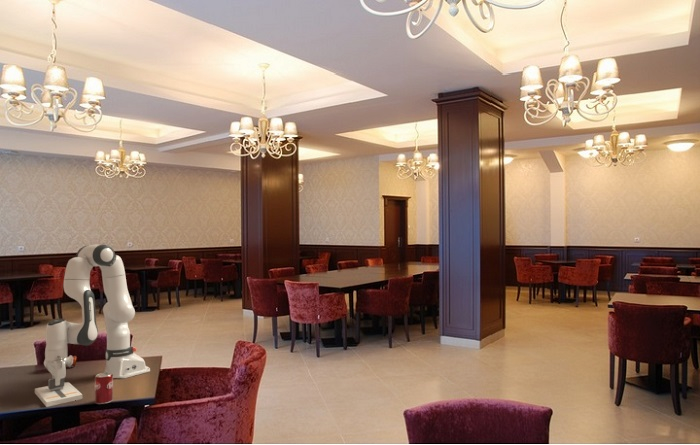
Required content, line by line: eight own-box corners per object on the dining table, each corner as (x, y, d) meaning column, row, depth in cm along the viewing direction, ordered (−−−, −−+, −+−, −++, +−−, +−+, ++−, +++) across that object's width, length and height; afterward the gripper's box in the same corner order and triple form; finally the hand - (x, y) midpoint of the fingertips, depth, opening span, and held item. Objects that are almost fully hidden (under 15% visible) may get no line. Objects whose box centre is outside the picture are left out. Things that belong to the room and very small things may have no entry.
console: (68, 386, 233) (68, 381, 233) (82, 398, 214) (82, 394, 215) (34, 392, 223) (34, 388, 223) (46, 407, 205) (46, 402, 205)
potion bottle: (41, 374, 257) (72, 372, 266) (45, 366, 251) (77, 365, 261) (42, 358, 262) (73, 356, 271) (45, 350, 256) (77, 349, 266)
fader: (62, 386, 225) (62, 375, 225) (64, 388, 222) (64, 377, 222) (47, 389, 221) (47, 378, 221) (49, 391, 218) (49, 380, 218)
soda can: (93, 405, 206) (94, 378, 206) (95, 400, 213) (95, 373, 213) (112, 403, 209) (112, 375, 209) (113, 397, 216) (113, 371, 216)
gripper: (69, 357, 216) (69, 387, 216) (59, 349, 231) (59, 377, 231) (53, 360, 212) (53, 391, 212) (44, 351, 227) (44, 380, 227)
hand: (56, 384), depth 222 cm, fingers closed on fader, 2 cm apart
